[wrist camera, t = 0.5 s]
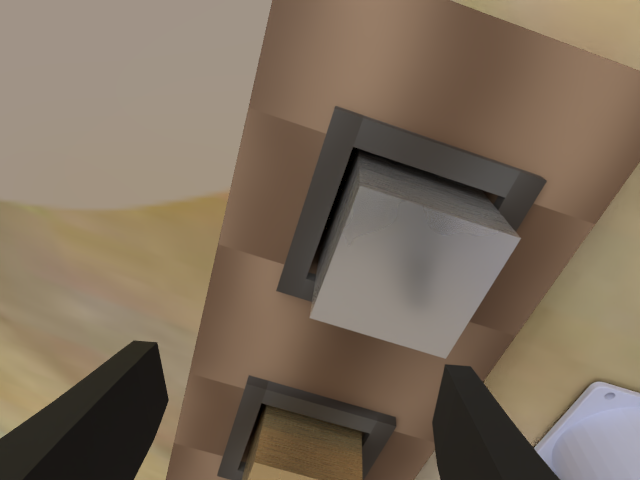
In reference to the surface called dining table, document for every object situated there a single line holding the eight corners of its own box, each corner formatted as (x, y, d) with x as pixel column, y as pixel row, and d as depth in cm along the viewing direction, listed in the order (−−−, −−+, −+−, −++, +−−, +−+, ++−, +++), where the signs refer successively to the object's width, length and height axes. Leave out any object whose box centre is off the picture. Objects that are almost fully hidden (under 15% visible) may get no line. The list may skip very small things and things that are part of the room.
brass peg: (360, 405, 20) (362, 491, 16) (332, 459, 22) (328, 547, 18) (273, 380, 19) (254, 462, 16) (252, 437, 22) (231, 522, 18)
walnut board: (610, 76, 15) (704, 91, 11) (365, 477, 27) (367, 555, 23) (302, -37, 14) (282, -65, 10) (189, 429, 26) (159, 501, 22)
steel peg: (477, 185, 14) (521, 238, 11) (424, 285, 16) (445, 358, 13) (358, 145, 14) (360, 185, 10) (319, 252, 16) (309, 317, 12)
